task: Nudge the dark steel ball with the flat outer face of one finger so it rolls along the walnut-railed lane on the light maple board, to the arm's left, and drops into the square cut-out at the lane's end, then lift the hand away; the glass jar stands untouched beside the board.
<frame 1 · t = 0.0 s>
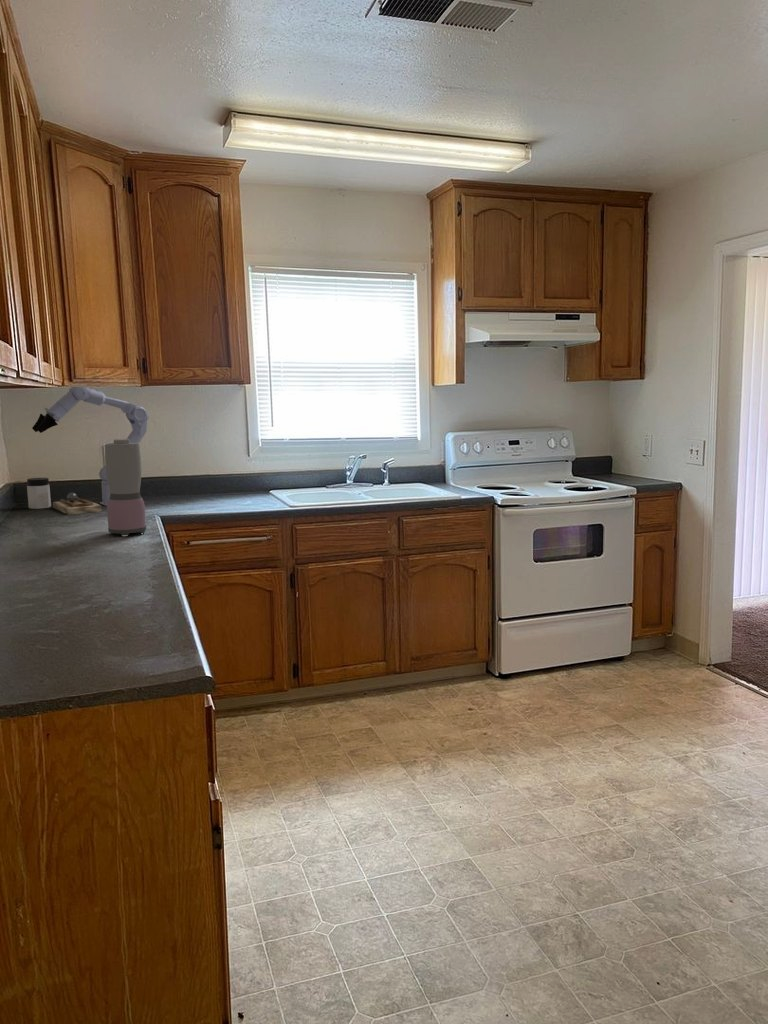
hand: (36, 430, 299), 32 cm above the countertop, fingers open, 7 cm apart
board: (77, 509, 306), on the countertop
ball: (72, 497, 310), point 4 cm above the countertop, touching board
jar: (40, 507, 312), on the countertop
blender: (125, 533, 256), on the countertop
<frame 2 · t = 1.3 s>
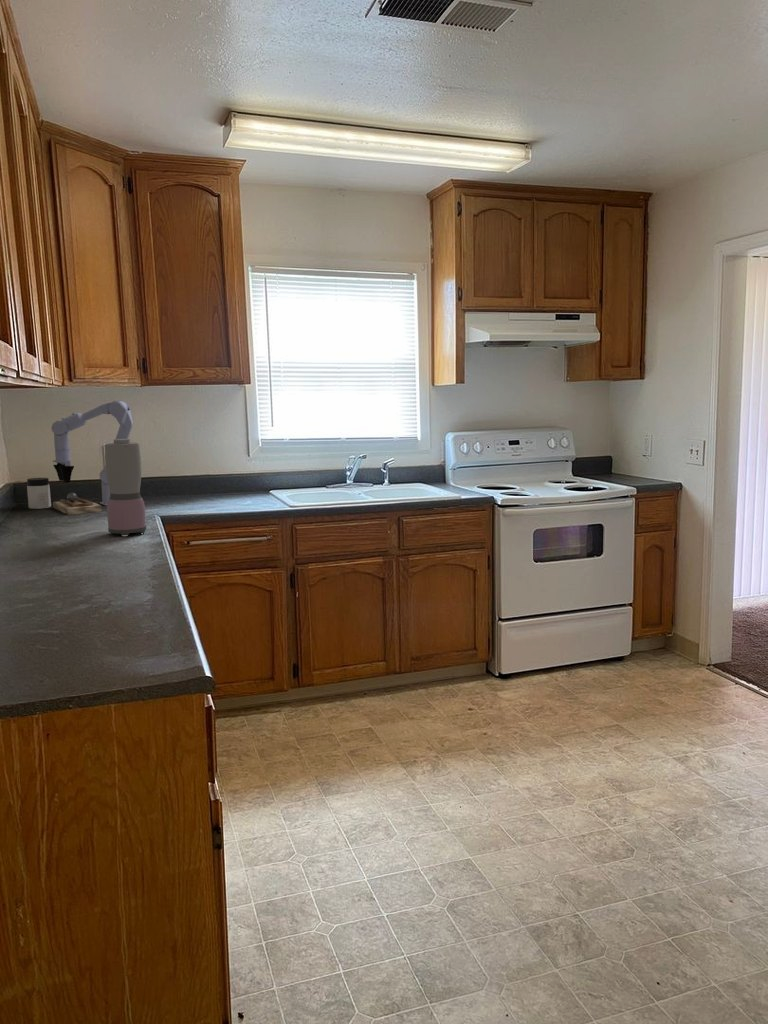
hand: (64, 481, 317), 10 cm above the countertop, fingers open, 7 cm apart
nothing on the countertop moved.
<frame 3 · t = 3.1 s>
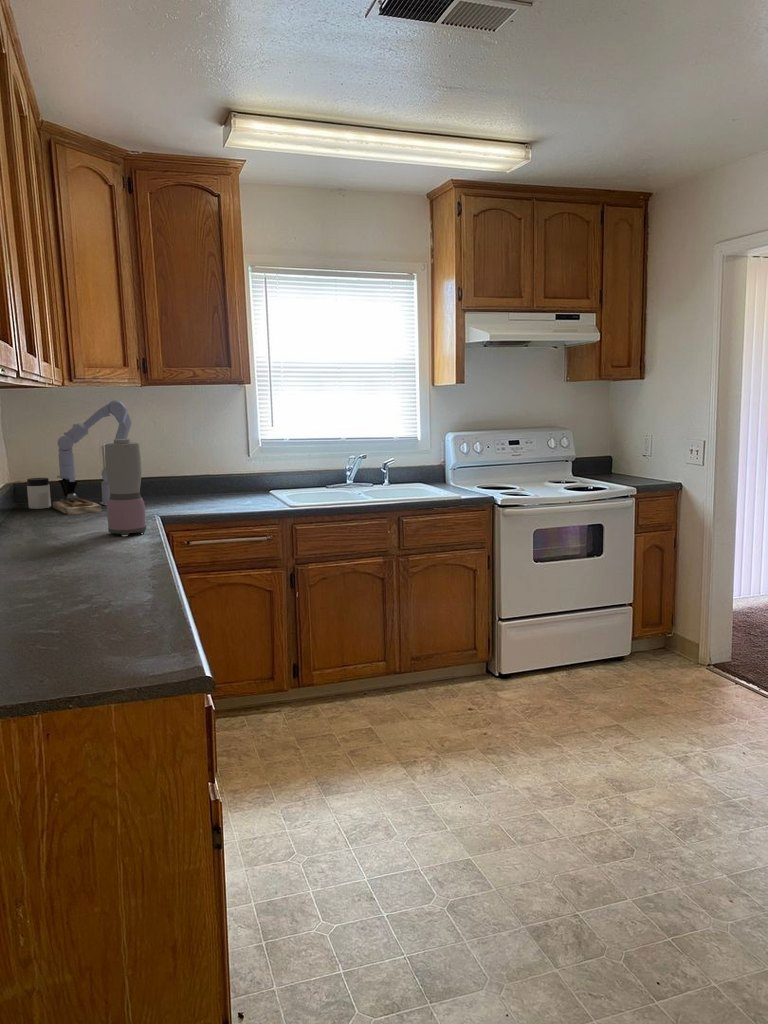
hand: (69, 497, 314), 4 cm above the countertop, fingers open, 5 cm apart
ball: (72, 497, 310), point 4 cm above the countertop, touching board, gripper
everything else where it was.
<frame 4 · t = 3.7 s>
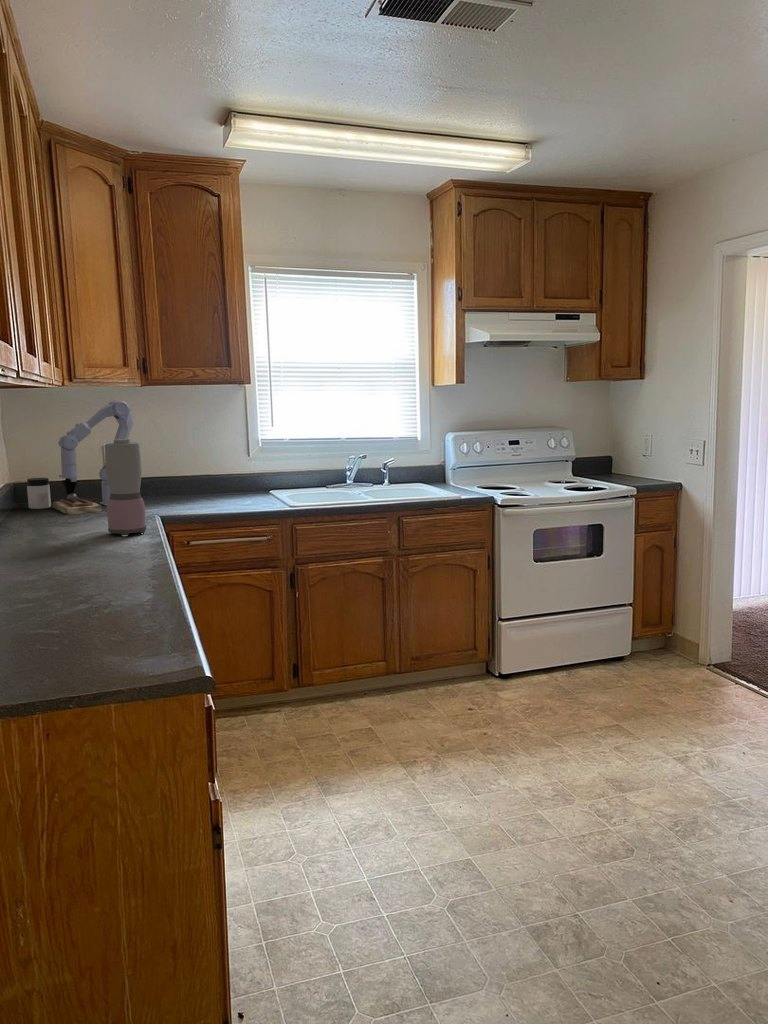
hand: (70, 497, 310), 4 cm above the countertop, fingers closed, pressing on ball
ball: (72, 497, 309), point 4 cm above the countertop, tilted 29°, touching board, gripper
everything else where it was.
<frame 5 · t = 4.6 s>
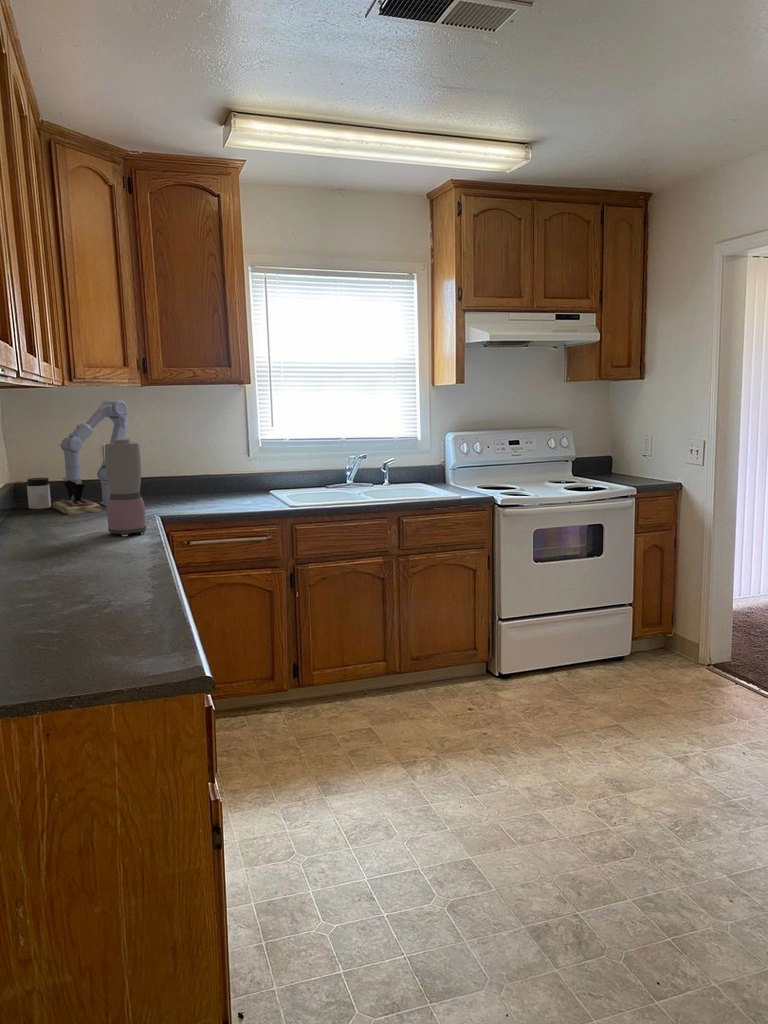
hand: (75, 499, 307), 4 cm above the countertop, fingers open, 7 cm apart
ball: (76, 498, 305), point 4 cm above the countertop, tilted 155°, touching board
everything else where it was.
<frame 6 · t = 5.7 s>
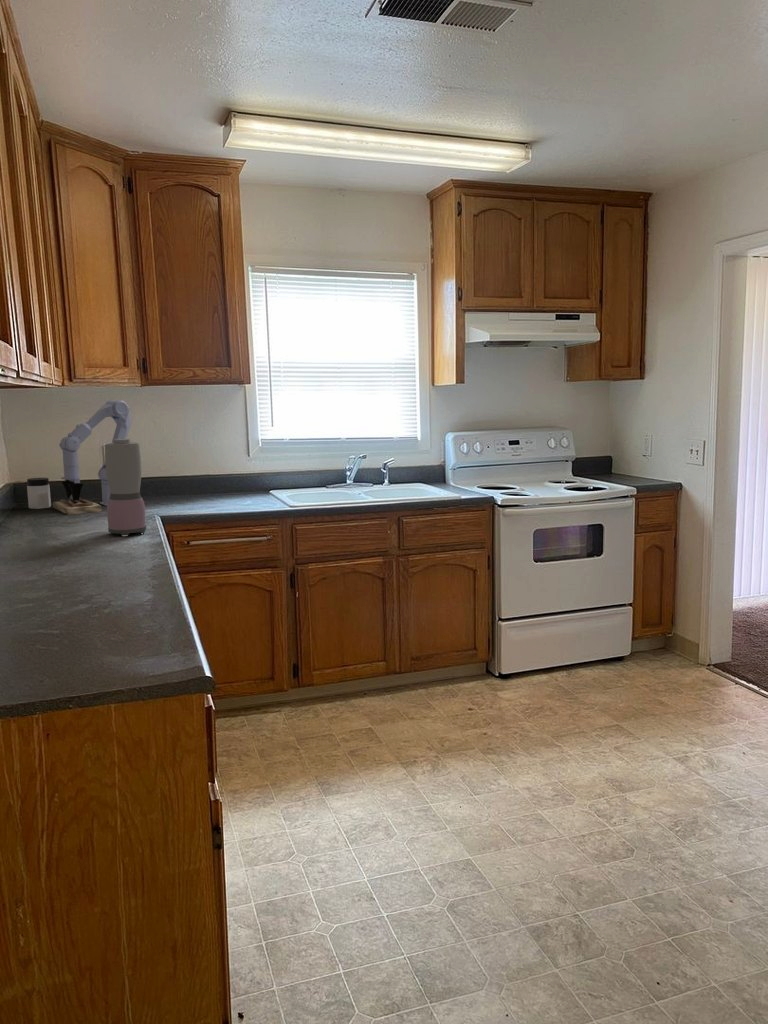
hand: (73, 499, 308), 4 cm above the countertop, fingers open, 7 cm apart
ball: (75, 498, 307), point 4 cm above the countertop, tilted 140°, touching board, gripper
everything else where it was.
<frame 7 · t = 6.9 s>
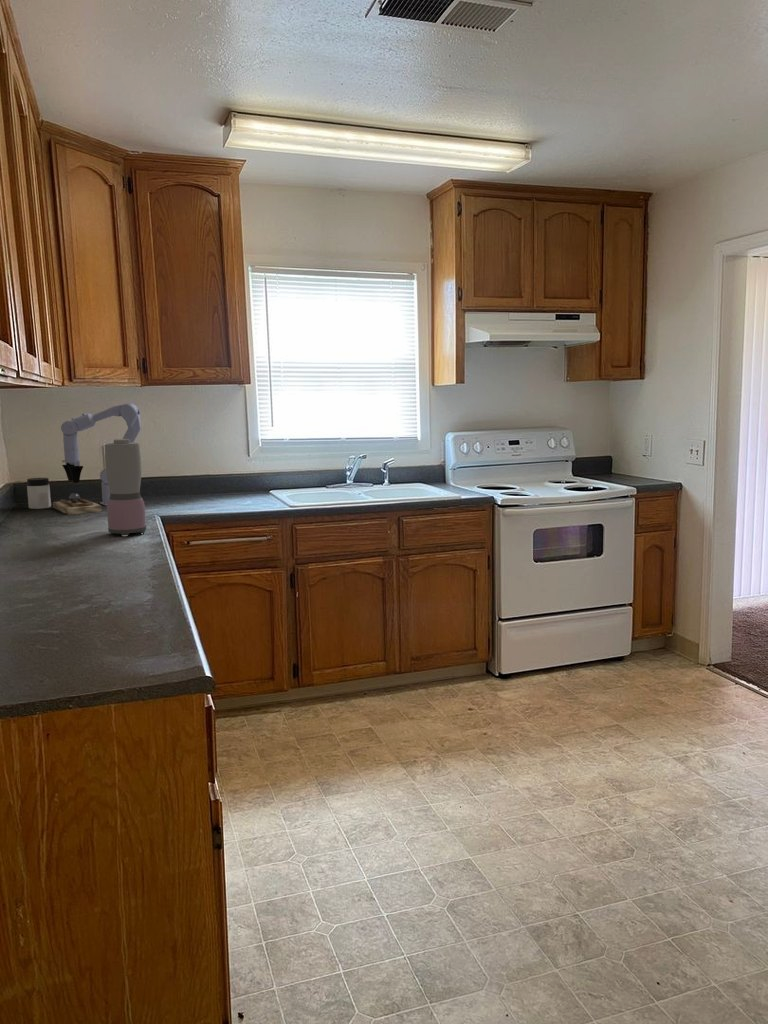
hand: (73, 481, 317), 10 cm above the countertop, fingers open, 7 cm apart
ball: (74, 497, 308), point 4 cm above the countertop, tilted 99°, touching board
everything else where it was.
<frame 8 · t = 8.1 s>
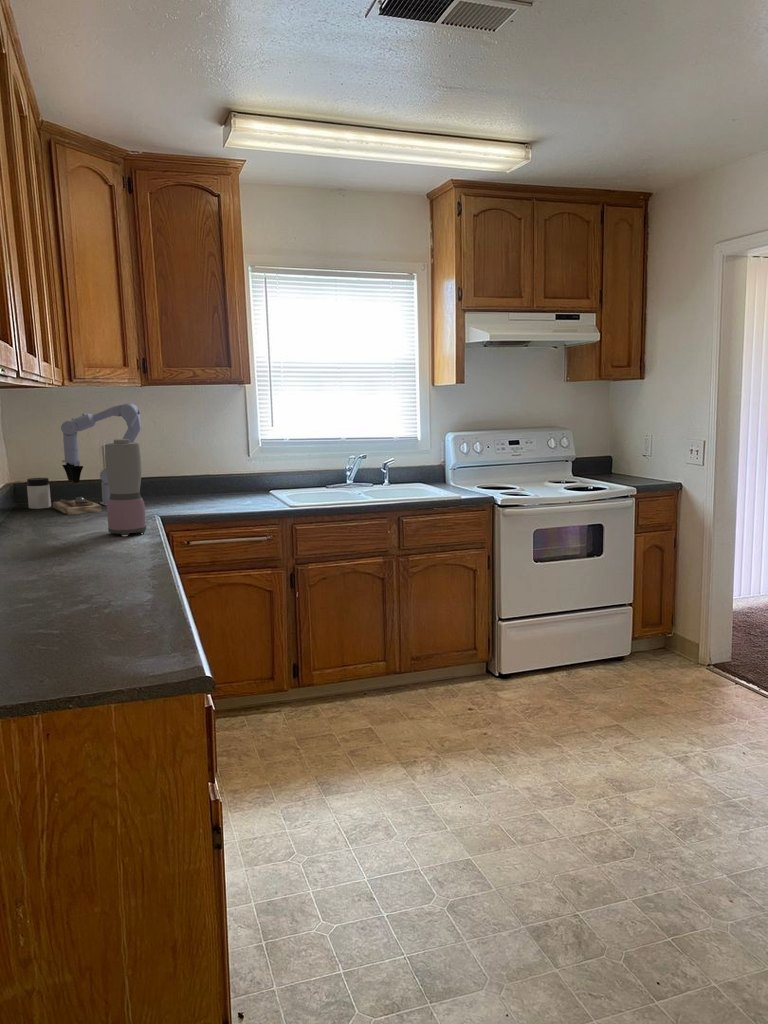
hand: (73, 481, 317), 10 cm above the countertop, fingers open, 7 cm apart
ball: (80, 501, 303), point 4 cm above the countertop, tilted 48°
everything else where it was.
at the end: ball 0.8 cm from the target spot in the board, point 2.0 cm above the board's base; ball point 2.0 cm above the countertop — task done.
